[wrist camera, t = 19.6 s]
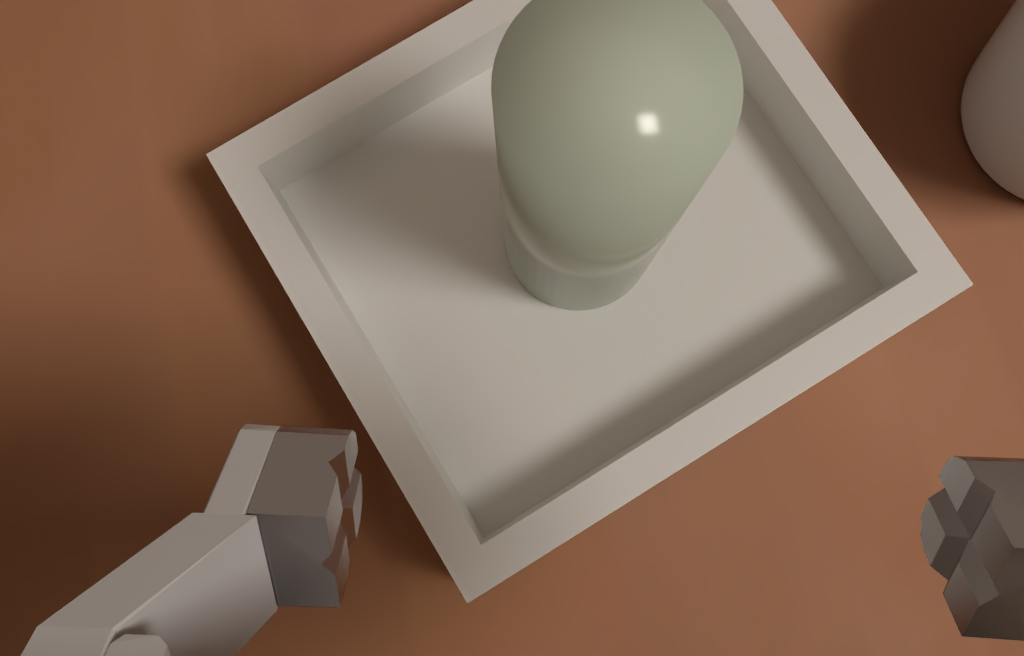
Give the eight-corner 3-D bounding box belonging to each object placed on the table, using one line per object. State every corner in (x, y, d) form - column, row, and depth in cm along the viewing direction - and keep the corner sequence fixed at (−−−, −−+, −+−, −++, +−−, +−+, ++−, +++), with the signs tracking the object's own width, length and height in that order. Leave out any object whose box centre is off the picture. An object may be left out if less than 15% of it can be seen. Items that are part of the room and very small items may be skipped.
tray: (474, 584, 28) (467, 603, 24) (242, 188, 30) (205, 154, 27) (919, 304, 29) (973, 284, 26) (666, -59, 31) (684, -122, 28)
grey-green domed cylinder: (553, 338, 28) (576, 255, 16) (476, 214, 29) (444, 47, 17) (680, 261, 28) (793, 125, 17) (600, 141, 29) (654, -74, 17)
